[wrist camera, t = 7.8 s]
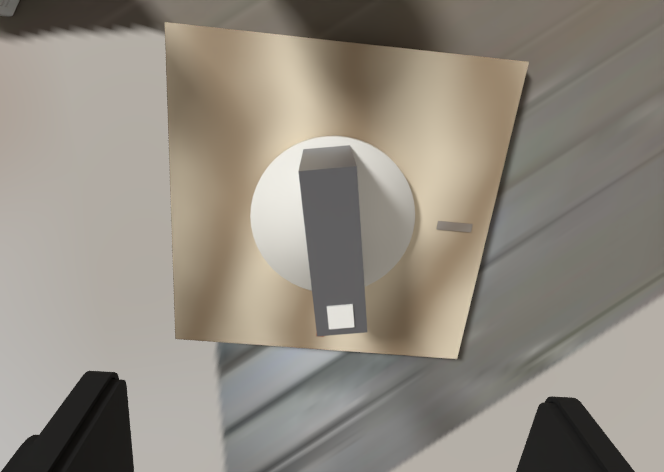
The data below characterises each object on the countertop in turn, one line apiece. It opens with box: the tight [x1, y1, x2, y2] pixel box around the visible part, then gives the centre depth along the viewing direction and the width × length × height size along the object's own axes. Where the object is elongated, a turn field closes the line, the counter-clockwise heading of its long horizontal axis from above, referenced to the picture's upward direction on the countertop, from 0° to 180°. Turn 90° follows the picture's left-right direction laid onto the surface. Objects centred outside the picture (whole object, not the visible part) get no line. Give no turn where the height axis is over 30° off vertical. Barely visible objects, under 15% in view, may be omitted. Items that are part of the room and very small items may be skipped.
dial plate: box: [165, 22, 529, 359], centre depth 25 cm, size 18×18×1 cm
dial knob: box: [250, 135, 415, 336], centre depth 22 cm, size 9×9×6 cm
